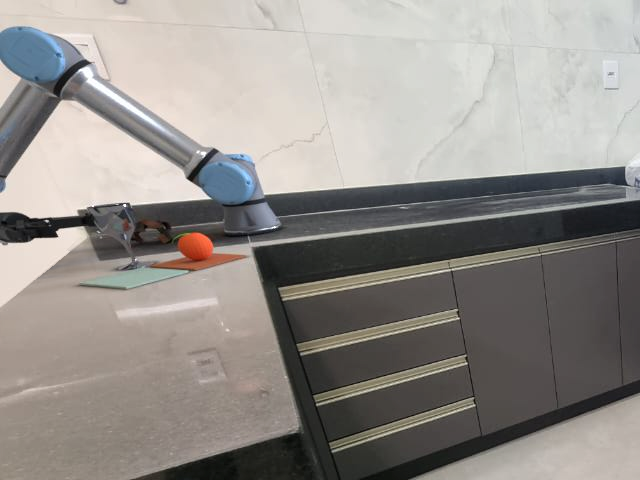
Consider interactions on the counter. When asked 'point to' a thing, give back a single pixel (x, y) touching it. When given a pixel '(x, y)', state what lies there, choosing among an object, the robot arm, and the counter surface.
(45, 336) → the counter surface
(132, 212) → the wine glass
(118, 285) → the glass mat
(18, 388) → the counter surface
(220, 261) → the fruit mat
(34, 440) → the counter surface
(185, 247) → the clementine
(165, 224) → the brown segmented ring
